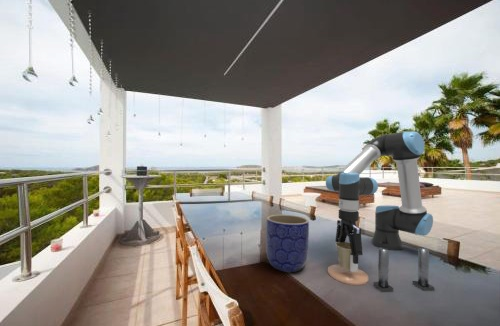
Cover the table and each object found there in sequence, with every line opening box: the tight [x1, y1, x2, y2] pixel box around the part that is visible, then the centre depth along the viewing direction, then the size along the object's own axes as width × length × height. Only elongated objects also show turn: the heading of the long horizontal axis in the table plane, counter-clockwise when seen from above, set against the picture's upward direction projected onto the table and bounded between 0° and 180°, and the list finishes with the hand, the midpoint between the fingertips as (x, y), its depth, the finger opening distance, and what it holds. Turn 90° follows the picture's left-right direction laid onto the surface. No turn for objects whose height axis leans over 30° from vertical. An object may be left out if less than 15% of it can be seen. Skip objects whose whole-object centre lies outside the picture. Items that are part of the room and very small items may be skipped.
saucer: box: [327, 264, 369, 286], centre depth 88 cm, size 15×15×1 cm
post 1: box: [373, 247, 394, 293], centre depth 79 cm, size 4×4×14 cm
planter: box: [265, 214, 310, 273], centre depth 95 cm, size 18×18×21 cm
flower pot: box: [335, 241, 352, 270], centre depth 88 cm, size 9×9×9 cm
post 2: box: [412, 246, 435, 292], centre depth 81 cm, size 4×4×14 cm
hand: (347, 265), depth 88 cm, fingers closed on flower pot, 8 cm apart
